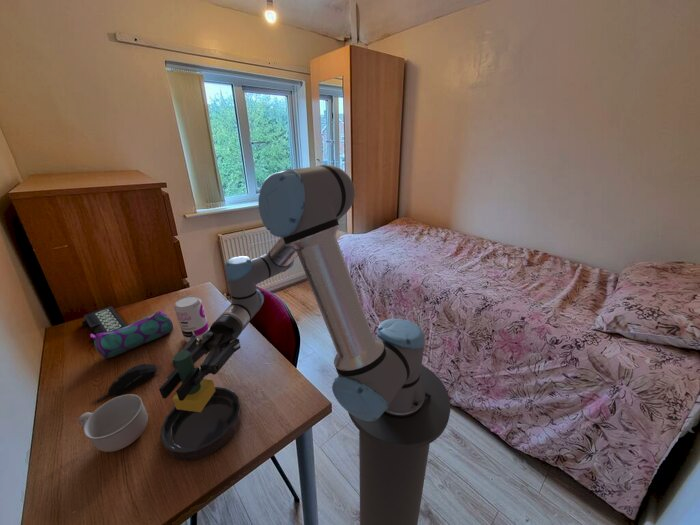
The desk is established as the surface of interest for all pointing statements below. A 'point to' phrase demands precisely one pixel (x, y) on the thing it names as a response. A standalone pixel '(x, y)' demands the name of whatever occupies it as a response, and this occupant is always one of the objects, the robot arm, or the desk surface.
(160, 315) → the pencil case
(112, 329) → the digital display
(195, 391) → the green peg on stand
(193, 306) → the supplement can
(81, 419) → the teacup
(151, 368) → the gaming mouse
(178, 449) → the bowl
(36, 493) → the desk surface
